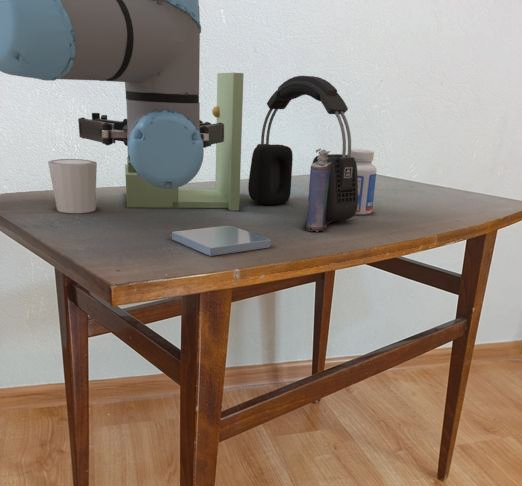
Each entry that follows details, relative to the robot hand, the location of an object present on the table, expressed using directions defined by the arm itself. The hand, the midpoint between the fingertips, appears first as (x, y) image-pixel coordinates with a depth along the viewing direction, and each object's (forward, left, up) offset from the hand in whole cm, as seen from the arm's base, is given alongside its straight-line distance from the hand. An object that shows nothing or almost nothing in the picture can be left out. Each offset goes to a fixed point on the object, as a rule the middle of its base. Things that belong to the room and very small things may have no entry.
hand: (150, 126), depth 91 cm
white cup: (-7, -10, -12) cm, 17 cm away
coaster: (+20, -17, -12) cm, 29 cm away
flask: (+28, +1, -12) cm, 30 cm away
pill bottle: (+30, +15, -12) cm, 35 cm away
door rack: (+2, +6, -12) cm, 13 cm away
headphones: (+22, +9, -12) cm, 27 cm away
